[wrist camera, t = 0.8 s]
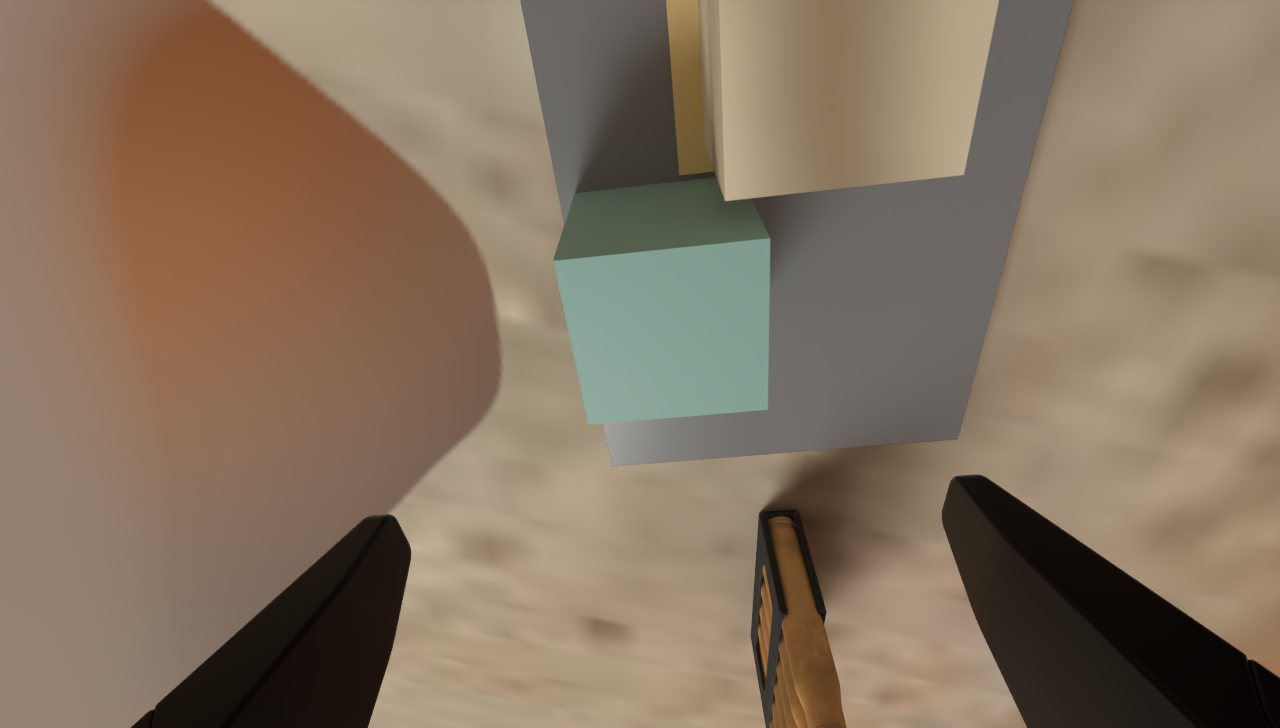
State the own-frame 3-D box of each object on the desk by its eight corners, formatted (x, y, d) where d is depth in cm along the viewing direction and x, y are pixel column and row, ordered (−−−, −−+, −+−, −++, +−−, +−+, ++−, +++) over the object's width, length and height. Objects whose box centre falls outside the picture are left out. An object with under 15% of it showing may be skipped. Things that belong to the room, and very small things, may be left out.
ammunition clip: (759, 510, 27) (826, 823, 17) (799, 508, 27) (889, 823, 17) (750, 636, 33) (796, 922, 23) (783, 635, 33) (842, 922, 23)
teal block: (739, 174, 17) (770, 238, 13) (742, 319, 20) (767, 409, 16) (574, 192, 17) (553, 261, 13) (599, 332, 20) (588, 425, 16)
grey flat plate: (1116, -273, 13) (1152, -292, 12) (946, 422, 24) (958, 440, 23) (494, -174, 14) (483, -184, 13) (612, 450, 25) (611, 468, 24)
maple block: (908, -103, 13) (1026, -137, 9) (881, 123, 16) (963, 174, 12) (694, -72, 14) (715, -92, 10) (704, 144, 16) (725, 201, 12)
